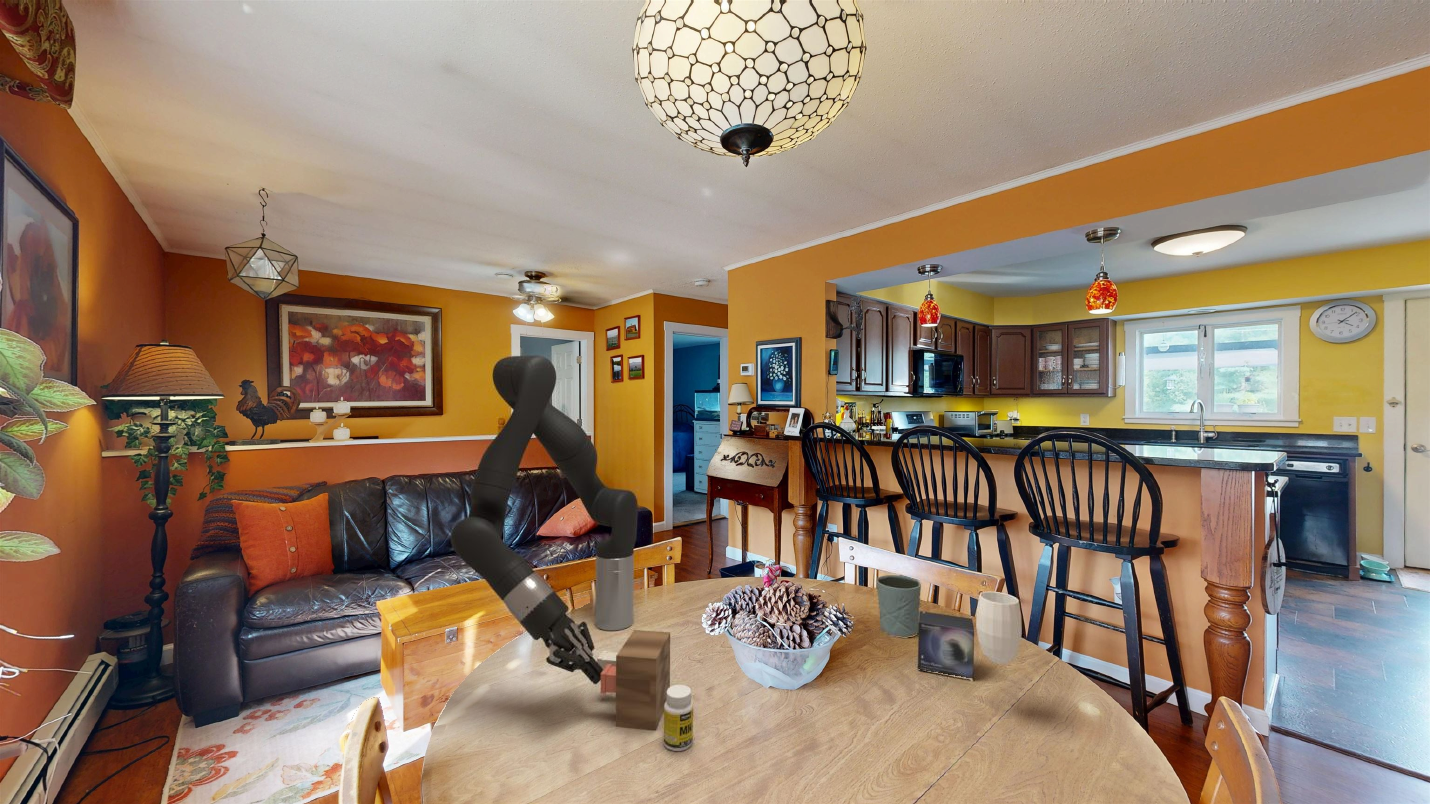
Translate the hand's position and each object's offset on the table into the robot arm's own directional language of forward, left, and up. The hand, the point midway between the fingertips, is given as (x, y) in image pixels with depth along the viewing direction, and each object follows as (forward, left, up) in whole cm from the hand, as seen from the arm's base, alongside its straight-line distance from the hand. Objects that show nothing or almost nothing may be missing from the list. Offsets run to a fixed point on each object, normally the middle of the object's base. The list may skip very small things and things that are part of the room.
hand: (600, 679), depth 94 cm
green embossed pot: (-45, +59, -7) cm, 74 cm away
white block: (-5, +2, -2) cm, 6 cm away
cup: (-12, +70, -7) cm, 71 cm away
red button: (0, +4, -2) cm, 5 cm away
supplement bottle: (+5, +15, -7) cm, 17 cm away
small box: (-27, +65, -7) cm, 70 cm away
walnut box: (-3, +7, -6) cm, 10 cm away
